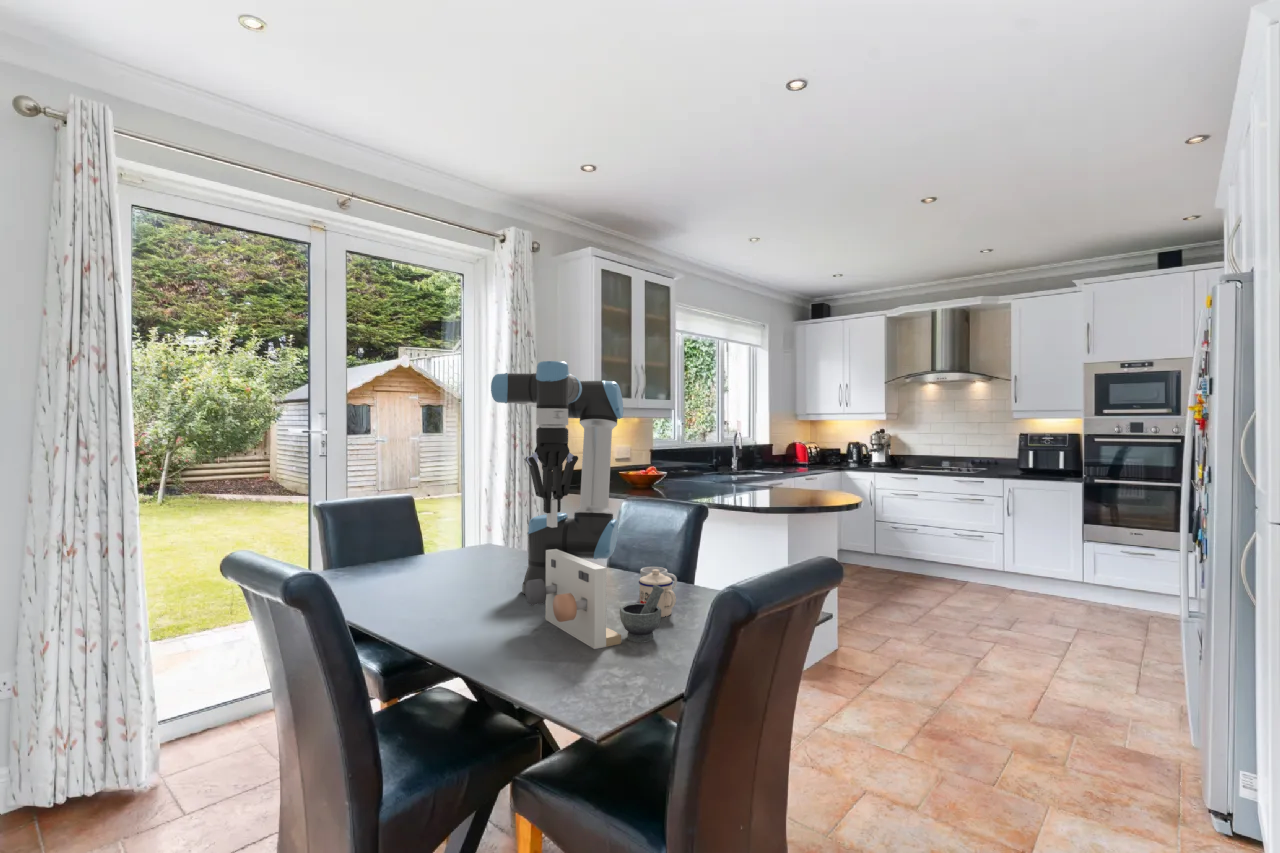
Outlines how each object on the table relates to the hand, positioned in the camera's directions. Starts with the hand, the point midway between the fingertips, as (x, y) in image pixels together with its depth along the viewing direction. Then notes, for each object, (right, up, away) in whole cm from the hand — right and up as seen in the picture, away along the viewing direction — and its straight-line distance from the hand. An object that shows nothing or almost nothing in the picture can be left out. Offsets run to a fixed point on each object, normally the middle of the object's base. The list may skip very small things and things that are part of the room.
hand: (552, 526), depth 155 cm
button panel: (+6, -26, +5) cm, 28 cm away
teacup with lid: (+26, -27, +19) cm, 42 cm away
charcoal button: (-2, -20, +9) cm, 22 cm away
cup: (+26, -26, +37) cm, 52 cm away
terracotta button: (+6, -20, -4) cm, 22 cm away
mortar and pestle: (+22, -27, +1) cm, 34 cm away
